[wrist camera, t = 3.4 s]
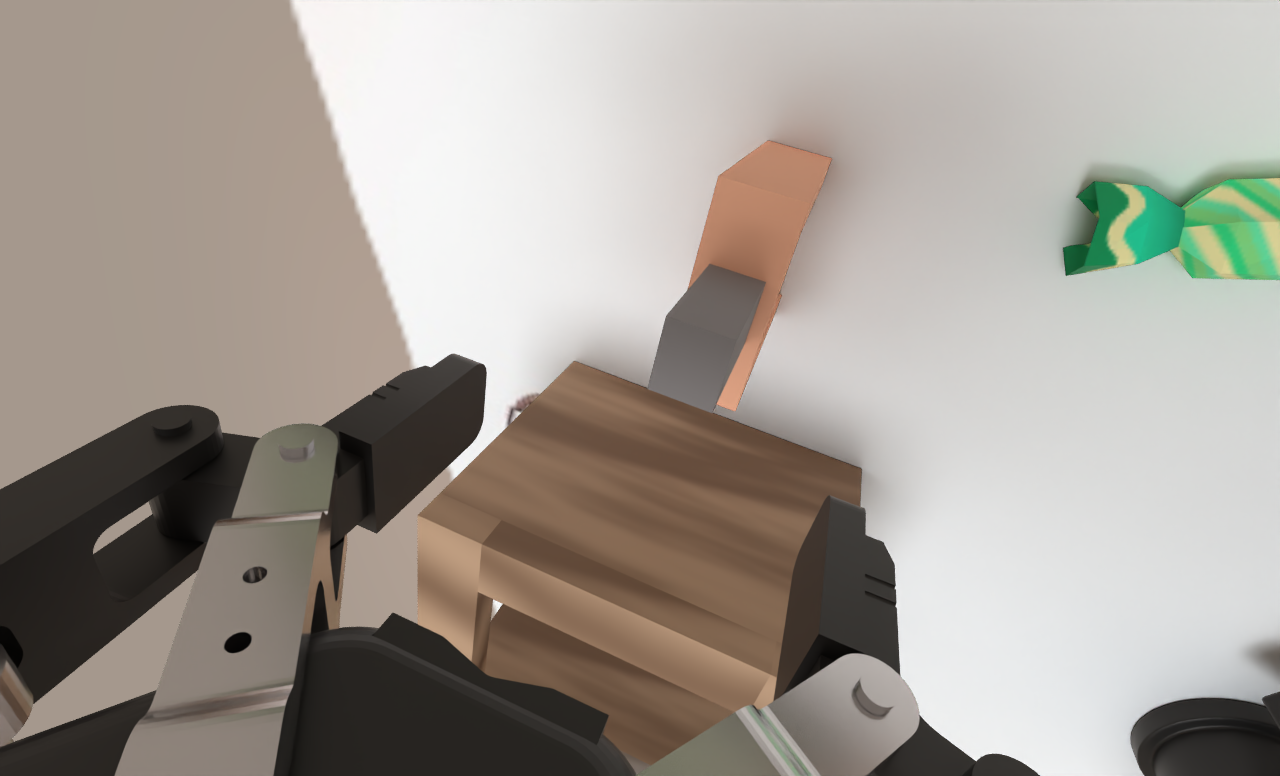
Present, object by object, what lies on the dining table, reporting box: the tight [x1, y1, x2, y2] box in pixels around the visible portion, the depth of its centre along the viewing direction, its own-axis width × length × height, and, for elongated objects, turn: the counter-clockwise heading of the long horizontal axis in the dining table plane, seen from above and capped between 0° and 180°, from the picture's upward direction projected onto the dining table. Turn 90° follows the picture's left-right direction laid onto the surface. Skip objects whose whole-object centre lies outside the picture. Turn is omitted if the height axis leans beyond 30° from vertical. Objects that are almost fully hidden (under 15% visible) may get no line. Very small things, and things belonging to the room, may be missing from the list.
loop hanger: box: [648, 141, 832, 413], centre depth 23 cm, size 8×3×15 cm, turn 168°
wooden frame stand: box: [418, 361, 862, 774], centre depth 33 cm, size 20×18×16 cm
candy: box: [1063, 178, 1280, 280], centre depth 21 cm, size 12×3×4 cm
